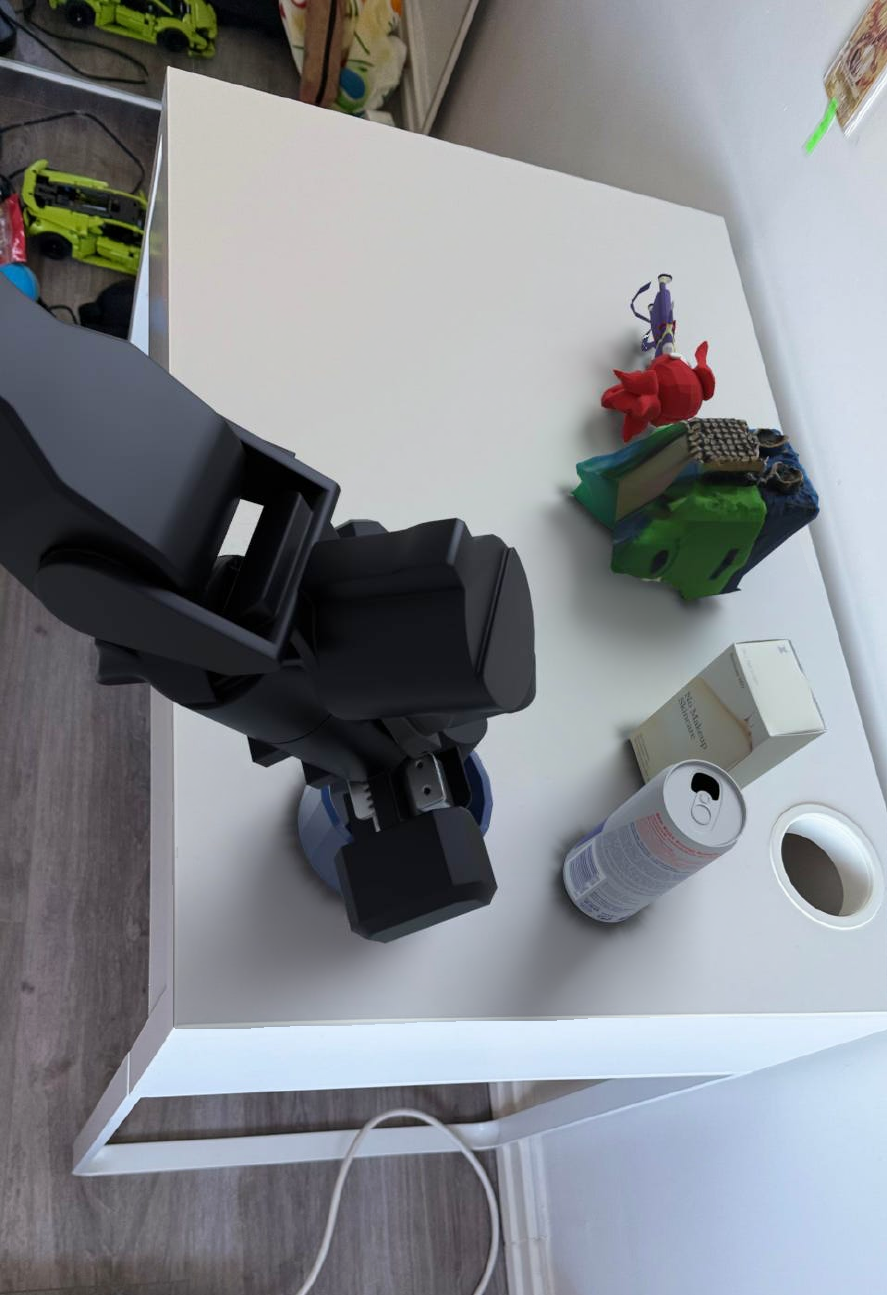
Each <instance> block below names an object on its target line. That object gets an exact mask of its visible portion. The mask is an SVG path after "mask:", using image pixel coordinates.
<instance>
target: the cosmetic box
mask: <svg viewBox="0 0 887 1295" xmlns="http://www.w3.org/2000/svg"><path fill="white" fill-rule="evenodd" d="M798 656H799V655H798V654H797V651H796V649H795V647H794V644H793V641H792V639H791V638H790V637H782V638H781V637H780V638H763V639H749V640H748V639H747V640H740V641H739V640H738V641H734V642H732V643H731V644H730V645H729V646H728V647H727V648H726V649H725V650H724V651H723V652H721V653H720V654H719V655H718V656H717V657H716V658H714V659H713V660H712V661H711V662H709V664H707V666H706V667H704V668H703V669H702V670H701V671H700V672H699V673H698V674H696V675H695V676H694V677H693V678H692V679H690V680H689V681H688V682H687V683H686V684H685V685H684V686H683V687H682V688H681V689H679V690H678V691H677V692H676V693H675V694H674V695H673V696H672V697H671V698H669V699H668V700H667V701H666V702H665V703H664V704H663V705H662V706H660V707H659V708H658V709H657V710H656V711H655V712H653V714H652V715H650V716H649V717H648V718H647V719H645V721H643V723H642V724H640V725H638V727H637V728H636V729H635V730H634V731H633V732H631V733H630V734H629V739H630V743H631V746H632V748H633V752H634V755H635V757H636V761H637V765H638V766H639V770H640V773H641V776H642V779H643V782H644V786H645V785H646V784H647V783H648V782H650V781H651V780H652V779H653V778H654V777H655V776H657V775H658V774H659V773H660V772H661V771H662V770H664V769H665V768H667V767H669V766H670V765H674V764H677V763H680V762H683V761H686V760H693V759H697V760H704V761H707V762H710V763H713V764H714V765H716V766H718V767H720V768H721V769H723V770H724V771H725V772H727V773H728V774H729V775H730V776H731V777H732V778H733V779H734V781H735V782H736V783H737V785H738V786H739V788H740V790H741V791H742V790H743V789H744V788H745V789H746V787H747V786H749V785H750V784H752V783H753V782H755V781H756V780H757V779H759V778H761V777H762V776H764V775H765V774H766V773H768V772H769V771H771V770H772V769H774V768H775V767H777V766H778V765H779V764H781V763H782V762H784V761H785V760H788V758H790V757H791V756H793V755H794V754H796V753H797V752H799V751H800V750H802V749H803V748H804V747H806V746H808V745H809V744H810V743H812V742H813V741H814V740H816V739H817V738H820V737H821V736H823V735H824V734H825V733H827V731H828V726H827V724H826V721H825V718H824V717H823V714H822V711H821V710H820V706H819V704H818V701H817V699H816V696H815V694H814V691H813V688H812V686H811V684H810V682H809V679H808V677H807V675H806V672H805V670H804V667H803V666H802V663H801V661H800V659H799V657H798Z"/></svg>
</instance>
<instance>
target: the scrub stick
mask: <svg viewBox="0 0 887 1295" xmlns="http://www.w3.org/2000/svg"><path fill="white" fill-rule="evenodd" d="M488 724H489V723H488V718H487V719H483V720H479V721H476V722H472V723H469V724H465V725H462V726H458V727H454V728H448V729H444V730H442V731H440V732H437V733H438V736H439V740H440V743H441V747H442V748H440V749H438V750H435V751H433V752H431V753H432V754H433V755H436V754H438V753H440V752H443V751H445V750H447V749H450V748H452V747H454V746H458V748H459V751H460V755H461V758H462V762H464V761H465V760H466V759H467V757H468V756H469V755H470V754H471V752H472V751H473V750H475V749H476V747H477V746H478V745H479V744H480V743H481V741H482V740H483V739H484V737H485V736H486V734H487V732H488V726H489V725H488Z"/></svg>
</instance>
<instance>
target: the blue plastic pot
mask: <svg viewBox="0 0 887 1295" xmlns="http://www.w3.org/2000/svg"><path fill="white" fill-rule="evenodd" d="M463 765H464V769H465V772H466V775H467V779H468V782H469V786H470V789H471V793H472V798H471V802H470V804H469V806H468V807H467V808H466V809H467V810H469V811H470V813H471V814H472V816H473V818H474V819H475V821H476V823H477V824H478V826H479V828H480V830H481V831H482V835H483V838H484V839H485V836H486V834H487V832H488V831H489V830H490V825H491V820H492V819H491V818H492V813H493V808H494V799H493V791H492V785H491V780H490V776H489V774H488V771H487V769H486V768H485V766H484V764H483V761H482V760H481V757H480V755H479V754H478V752H477V751H476V750H475V749H474V750H473V751H472V752H471V754H470V755H469V756H468V757H467V759H466V760H465V761H464V762H463ZM367 783H368V782H367ZM347 792H350V791H349V787H348V783H347V779H342V780H340V781H337V782H335V783H333V784H331V785H328V786H326V787H324V788H321V789H319V790H318V789H316V788H313V787H311V786H309V785H307V784H306V785H305V786H304V790H303V793H302V796H301V799H300V801H299V806H298V811H297V829H298V837H299V840H300V844H301V847H302V850H303V852H304V854H305V857H306V858H307V860H308V862H309V864H310V865H311V867H312V868H313V869H314V871H315V872H316V873H317V875H318V876H319V877H320V878H321V879H322V881H324V882H325V883H326V884H327V885H329V886H330V887H331V889H333V890H334V891H337V892H338V893H339V894H340V895H342V892H341V887H340V883H339V879H338V875H337V871H336V867H335V862H334V858H333V857H334V856H335V854H336V853H337V852H338V850H339V849H340V847H341V846H344V845H346V844H349V843H351V842H353V841H354V839H353V835H352V831H351V827H350V823H349V819H348V815H347V811H346V807H345V803H344V799H343V794H345V793H347Z"/></svg>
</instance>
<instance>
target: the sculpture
mask: <svg viewBox="0 0 887 1295" xmlns="http://www.w3.org/2000/svg"><path fill="white" fill-rule="evenodd" d="M789 439H790V436H789V435H787V434H782V432H781V431H780V430H778V429H776V428H762V427H757V428H750V427H749V424H748V420H745V419H741V418H739V419H736V418H734V417H729V418H727V417H723V418H722V417H717V418H715V417H705V418H703V417H696V416H694V417H693V418H691V419H688V420H684V419H683V420H681V421H679V422H677V423H675V424H670V425H668V426H660V427H658V428H655V429H654V430H652V432H651V433H649V434H648V435H647V436H646V437H644V438H642V439H639V440H637V441H636V442H633V443H631V444H629V445H627V446H625V447H623V448H621V449H619V450H617V451H615V452H613V453H607V454H602V455H597V456H593V457H590V458H588V459H586V460H583V461H580V462H577V463H575V469H576V475H577V476H578V478H579V480H580V481H581V482H580V483H579V484H578V485H577V487H575V489H574V490H571V491H570V492H569V494H570V495H572V496H574V497H575V498H576V500H577V501H579V503H580V504H581V505H582V506H583V507H584V508H585V509H586V510H587V511H588V512H589V513H590V514H591V515H592V516H593V517H594V518H595V519H596V520H597V521H598V522H600V523H601V524H603V525H604V526H605V527H607V528H608V529H609V530H611V531H612V532H613V538H612V547H611V558H610V564H609V569H610V571H612V573H614V574H615V575H627V576H629V577H633V578H635V579H638V580H642V581H645V582H651V581H654V582H657V583H661V582H662V583H663V582H666V583H667V584H668V585H669V586H670V587H671V588H674V589H676V590H678V591H679V593H680V594H681V596H682V597H683V598H684V600H686V601H687V602H688V601H691V600H695V599H701V598H707V597H714V596H721V595H728V594H731V593H736V592H740V591H742V589H741V588H739V587H738V586H739V585H740V583H741V581H742V579H743V578H744V577H745V575H747V574H748V573H749V572H751V570H753V569H754V568H755V567H756V566H757V565H759V564H760V563H761V562H763V560H764V559H766V558H767V557H768V556H769V555H771V554H772V553H773V552H774V551H775V550H777V549H778V548H779V547H780V546H781V545H783V544H784V543H785V542H786V541H788V539H789V538H791V537H792V536H793V535H794V534H796V533H797V532H799V531H800V530H802V529H803V528H805V526H807V525H809V524H810V523H811V522H813V521H814V520H815V519H817V517H818V515H819V513H820V510H821V509H820V507H819V501H820V497H819V494H818V492H817V491H816V489H815V488H814V485H813V483H812V481H811V479H810V478H809V477H808V475H807V473H806V469H805V468H804V467H803V465H802V464H801V462H800V459H799V456H800V454H799V453H798V452H796V451H795V450H794V448H793V446H792V445H791V443H790V441H789Z"/></svg>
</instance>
